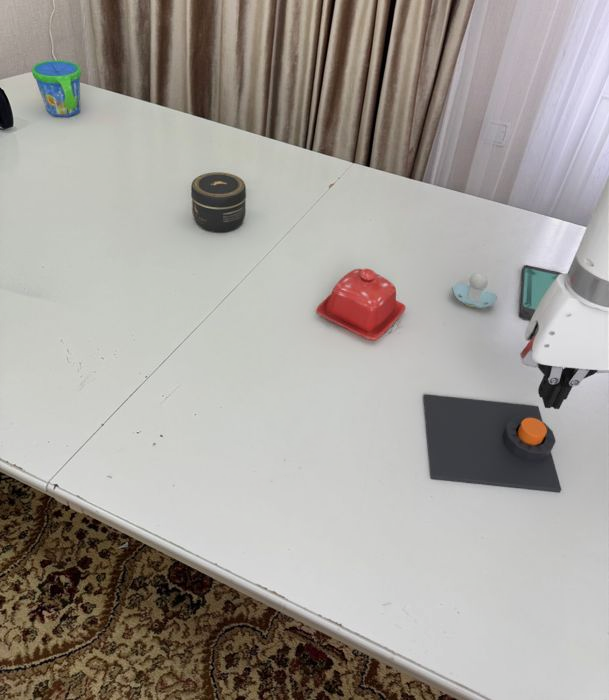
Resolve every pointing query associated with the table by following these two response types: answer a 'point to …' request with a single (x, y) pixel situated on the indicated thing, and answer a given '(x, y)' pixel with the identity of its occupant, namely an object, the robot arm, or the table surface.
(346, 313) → the butter dish
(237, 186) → the jar
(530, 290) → the smartphone
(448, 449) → the dark grey flat plate
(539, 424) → the button
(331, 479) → the table surface
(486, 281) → the pacifier
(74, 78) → the snack cup
